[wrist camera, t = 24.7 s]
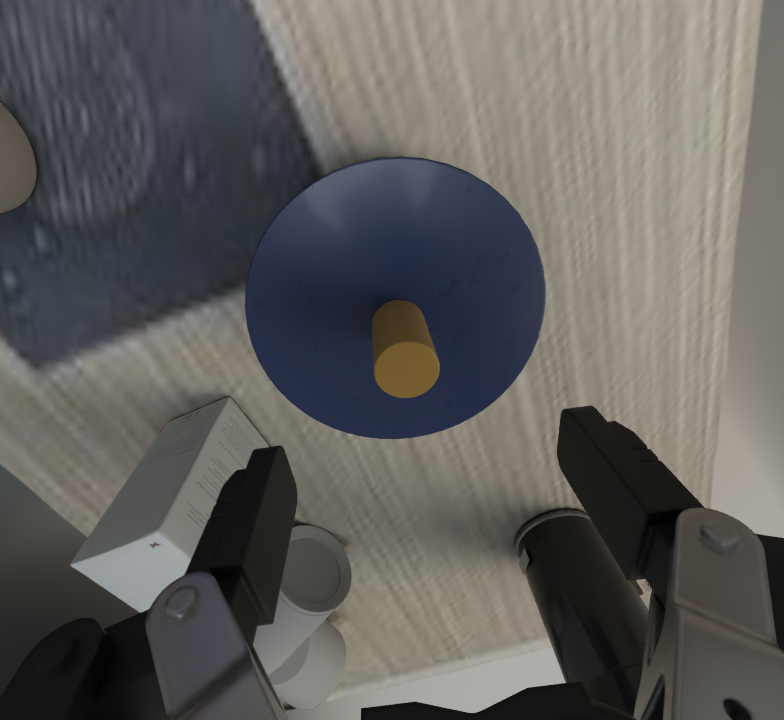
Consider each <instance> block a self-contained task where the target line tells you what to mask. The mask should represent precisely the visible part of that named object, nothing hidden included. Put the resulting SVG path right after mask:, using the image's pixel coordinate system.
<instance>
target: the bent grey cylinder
mask: <svg viewBox="0 0 784 720" xmlns="http://www.w3.org/2000/svg"><path fill="white" fill-rule="evenodd" d="M351 577H352V575H351V566H350V562H349V559H348V556H347V554H346V552H345V550H344V549H343V547H342V546H341V544H340V543H339V542H338V541H337V540H336V539H335V538H334V537H333V536H332V535H331V534H329V533H328V532H326V531H325V530H323V529H321V528H318V527H314V526H309V525H302V526H296V527H293V528H292V532H291V537H290V542H289V547H288V552H287V557H286V562H285V567H284V572H283V577H282V582H281V587H280V592H279V597H278V602H277V607H276V612H275V617H274V622H273V624H270V625H262V626H257V630H256V634H255V639H254V643H253V646H254V647H255V649H256V651H257V654H258V656H259V658H260V660H261V662H262V664H263V666H264V668H265V670H266V672H267V674H268V677H269V679H270V681H271V683H272V685H273V687H274V689H275V691H276V693H277V695H278V697H279V698H280V699H282V700H284V701H285V702H287V703H288V704H290V705H292V706H293V707H295V708H297V709H299V710H311V709H313V708H315V707H317V706H319V705H320V704H322V703H323V702H324V701H325V700H326V699H327V698H328V697H329V696H330V695H331V693H332V692H333V691H334V689H335V687H336V686H337V684H338V682H339V680H340V678H341V675H342V672H343V669H344V665H345V658H346V648H345V642H344V639H343V636H342V635H341V633H340V632H339V631H338V630H337V629H336V628H335V627H334V626H333V625H332V624H330V623H329V622H328V621H327V620H326V618H327V617H328V616H329V615H330V614H331V613H332V612H333V611H334V610H335V609H336V608H337V607H338V606H339V605H340V604H341V603H342V602H343V600H344V599H345V598H346V596H347V594H348V592H349V589H350V585H351Z"/></svg>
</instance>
